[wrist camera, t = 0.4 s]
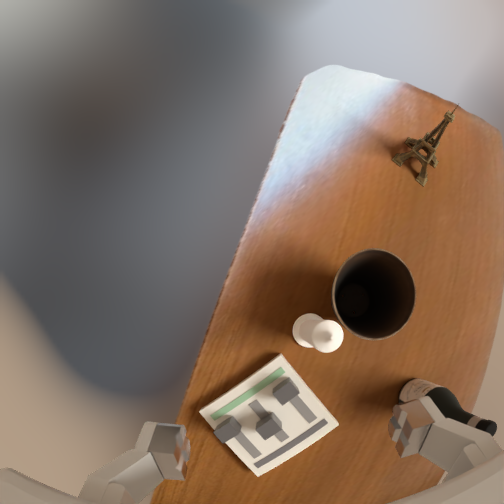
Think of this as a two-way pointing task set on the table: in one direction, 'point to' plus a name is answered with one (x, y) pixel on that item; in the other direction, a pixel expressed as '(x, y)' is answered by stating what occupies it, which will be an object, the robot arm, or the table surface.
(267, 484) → the table surface
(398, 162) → the eiffel tower
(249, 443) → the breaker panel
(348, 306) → the plant pot
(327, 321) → the candle
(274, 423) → the handle
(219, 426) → the handle
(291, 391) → the handle
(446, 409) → the wine bottle
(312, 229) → the table surface
